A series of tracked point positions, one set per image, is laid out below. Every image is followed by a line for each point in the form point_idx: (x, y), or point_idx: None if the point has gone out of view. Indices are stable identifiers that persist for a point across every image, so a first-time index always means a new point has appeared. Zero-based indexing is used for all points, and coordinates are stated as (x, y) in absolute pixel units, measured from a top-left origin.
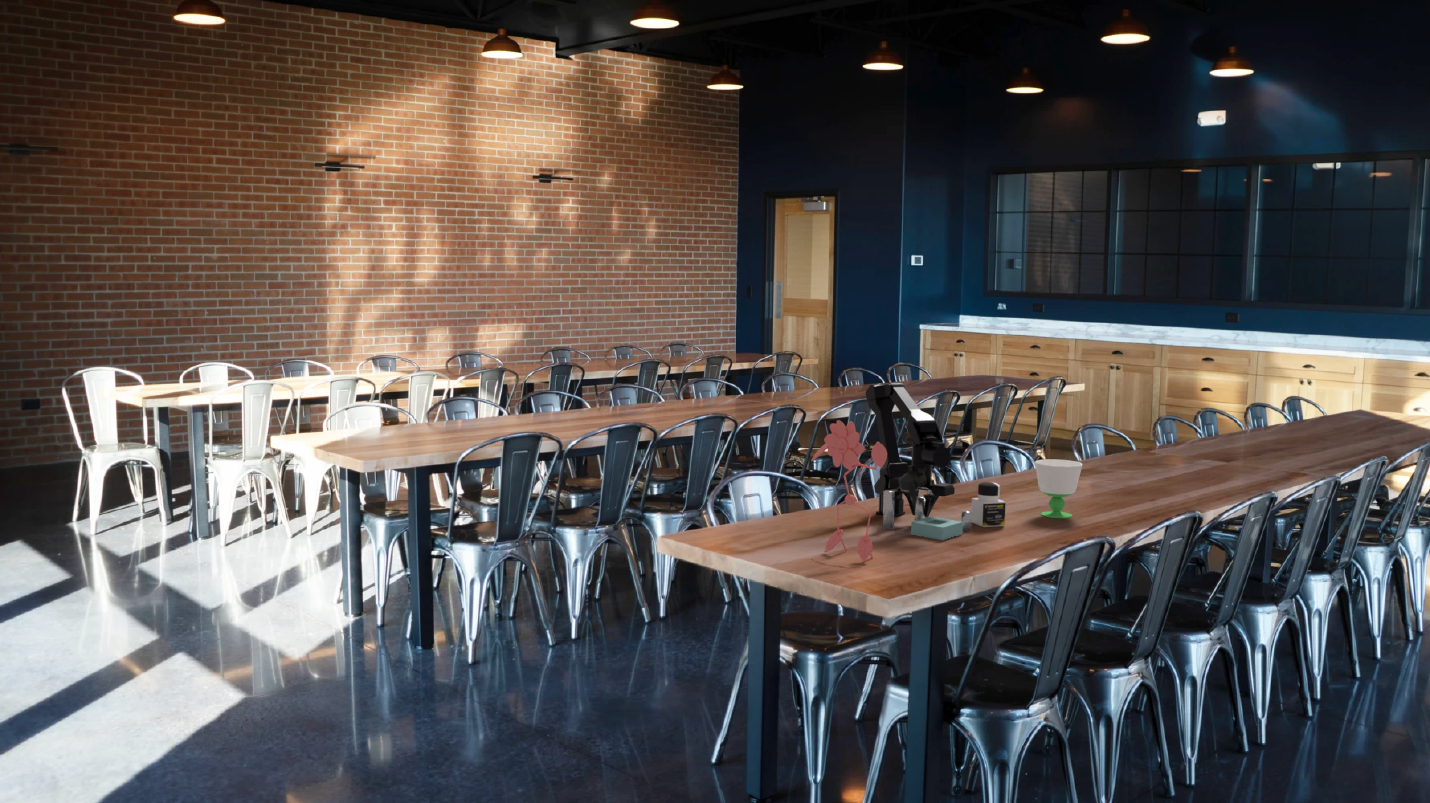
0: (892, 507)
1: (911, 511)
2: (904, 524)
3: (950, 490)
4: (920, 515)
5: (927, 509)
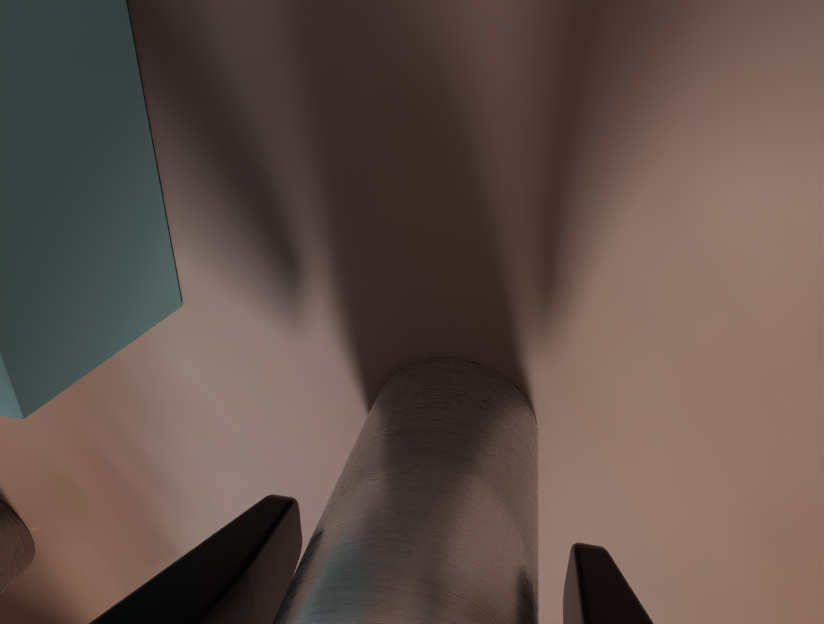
0: None
1: (643, 610)
2: (696, 324)
3: None
4: (358, 491)
5: (102, 616)
